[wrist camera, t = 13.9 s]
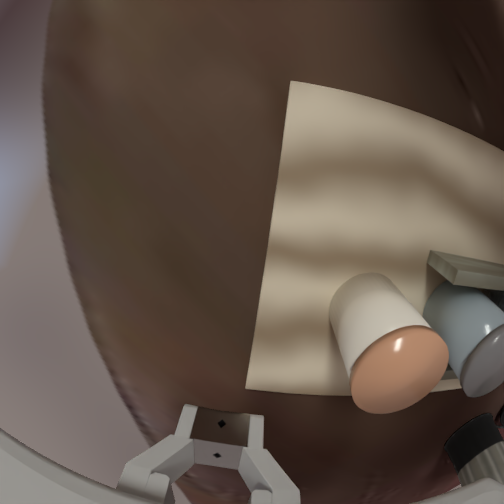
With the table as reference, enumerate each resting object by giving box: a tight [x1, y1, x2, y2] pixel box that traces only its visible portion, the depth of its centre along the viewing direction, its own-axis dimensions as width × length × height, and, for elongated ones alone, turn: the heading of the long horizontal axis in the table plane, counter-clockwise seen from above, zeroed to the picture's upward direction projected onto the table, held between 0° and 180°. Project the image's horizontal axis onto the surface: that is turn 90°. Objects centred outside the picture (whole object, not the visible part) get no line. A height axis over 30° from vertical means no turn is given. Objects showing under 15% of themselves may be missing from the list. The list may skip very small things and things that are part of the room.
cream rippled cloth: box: [245, 81, 504, 396], centre depth 18 cm, size 24×38×5 cm, turn 83°
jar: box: [329, 273, 449, 414], centre depth 16 cm, size 6×6×8 cm
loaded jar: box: [422, 280, 504, 397], centre depth 16 cm, size 6×6×8 cm
